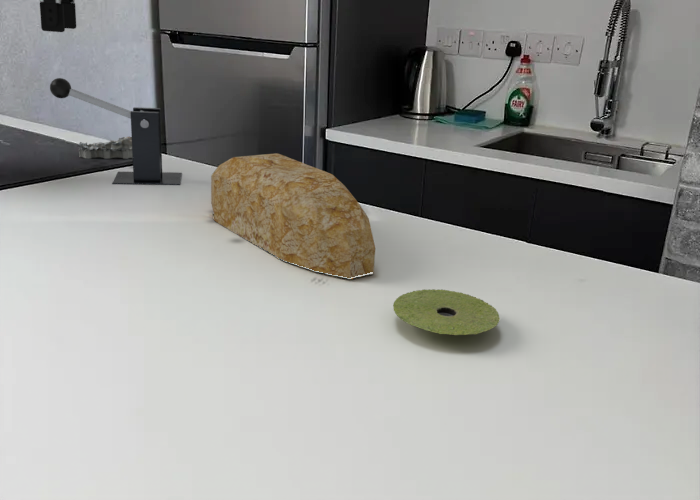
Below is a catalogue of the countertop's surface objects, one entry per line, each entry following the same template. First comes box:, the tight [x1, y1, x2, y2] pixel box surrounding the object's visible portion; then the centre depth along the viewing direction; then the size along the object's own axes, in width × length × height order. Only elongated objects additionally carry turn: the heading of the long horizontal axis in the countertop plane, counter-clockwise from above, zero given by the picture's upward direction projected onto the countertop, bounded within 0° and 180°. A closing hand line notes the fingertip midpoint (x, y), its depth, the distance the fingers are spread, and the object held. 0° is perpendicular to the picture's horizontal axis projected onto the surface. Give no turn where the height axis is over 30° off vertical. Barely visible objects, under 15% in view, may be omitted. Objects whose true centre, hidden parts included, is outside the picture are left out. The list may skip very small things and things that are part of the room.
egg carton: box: [77, 136, 133, 160], centre depth 132 cm, size 11×8×4 cm
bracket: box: [111, 106, 183, 186], centre depth 116 cm, size 11×8×13 cm
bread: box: [210, 152, 376, 278], centre depth 96 cm, size 36×11×10 cm, turn 38°
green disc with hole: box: [392, 288, 501, 336], centre depth 73 cm, size 11×11×2 cm
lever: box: [49, 77, 145, 120], centre depth 112 cm, size 17×3×3 cm, turn 101°
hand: (59, 29), depth 107 cm, fingers open, 9 cm apart
